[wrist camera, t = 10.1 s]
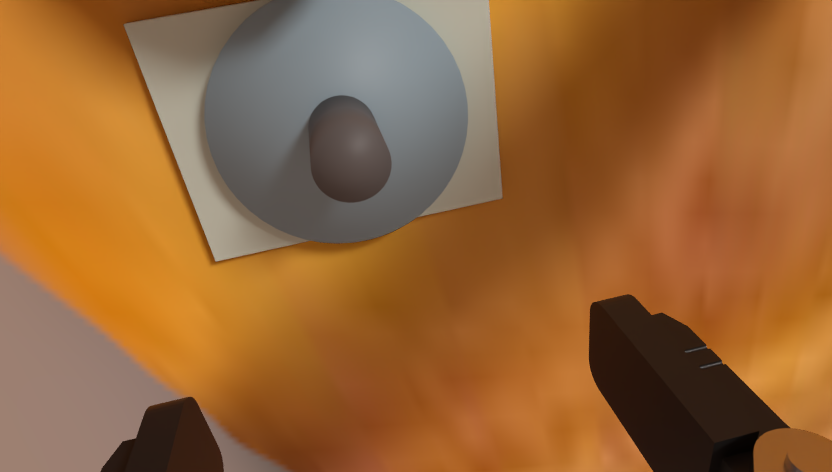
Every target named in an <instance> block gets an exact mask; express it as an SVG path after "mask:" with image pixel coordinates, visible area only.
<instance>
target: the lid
mask: <svg viewBox="0 0 832 472" xmlns="http://www.w3.org/2000/svg"><path fill="white" fill-rule="evenodd" d="M204 122H205V129H206V136H207V141H208V145H209V148H210V152H211V156H212V158H213V160H214V162H215V165H216V167H217V169H218V172H219V173H220V175H221V177H222V178H223V180H224V182H225V183H226V185H227V186H228V188H229V189H230V190H231V191H232V193H233V194H234V195H235V197H236V198H237V199H238V200H239V201H240V202H241V203H242V204H243V205H244V206H245V207H246V208H247V209H248V210H249V211H250V212H252V213H253V214H254V215H256V216H257V217H258V218H260V219H261V220H262V221H264V222H266V223H267V224H269V225H271V226H272V227H274V228H276V229H278V230H280V231H283V232H285V233H287V234H289V235H292V236H296V237H299V238H302V239H305V240H311V241H316V242H323V243H353V242H359V241H365V240H369V239H373V238H377V237H380V236H383V235H385V234H388V233H390V232H393V231H395V230H397V229H399V228H401V227H402V226H404V225H406V224H408V223H409V222H411V221H412V220H414V219H415V218H416V217H418V216H419V215H421V214H422V213H423V212H424V211H425V210H426V209H427V208H428V207H430V206H431V205H432V204H433V203H434V201H435V200H436V199H437V198H438V197H439V196H440V195H441V193H442V192H443V191H444V189H445V188H446V186H447V185H448V183H449V182H450V180H451V178H452V177H453V175H454V173H455V171H456V169H457V167H458V164H459V161H460V159H461V156H462V153H463V150H464V145H465V141H466V137H467V127H468V103H467V97H466V91H465V86H464V83H463V80H462V76H461V73H460V70H459V68H458V66H457V64H456V61H455V59H454V57H453V55H452V54H451V52H450V50H449V49H448V47H447V46H446V44H445V42H444V41H443V40H442V38H441V37H440V36H439V35H438V34H437V32H436V31H435V30H434V29H433V28H432V27H431V26H430V25H429V24H428V23H427V22H426V21H425V20H424V19H423V18H421V17H420V16H419V15H418V14H416V13H415V12H414V11H412V10H411V9H409V8H408V7H406V6H405V5H403V4H401V3H399V2H397V1H395V0H272V1H270V2H268V3H267V4H265V5H263V6H262V7H260V8H259V9H257V10H256V11H255V12H254V13H252V14H251V15H250V16H249V17H248V18H246V19H245V20H244V21H243V23H242V24H241V25H240V26H239V27H238V28H237V29H236V30H235V31H234V32H233V34H232V35H231V36H230V38H229V39H228V41H227V42H226V44H225V45H224V47H223V48H222V50H221V51H220V53H219V56H218V58H217V60H216V62H215V64H214V66H213V68H212V72H211V75H210V78H209V82H208V85H207V91H206V97H205V113H204Z"/></svg>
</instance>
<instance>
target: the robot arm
mask: <svg viewBox="0 0 832 472" xmlns="http://www.w3.org/2000/svg"><path fill="white" fill-rule="evenodd" d="M589 364H590V369H591V372H592V376H593V378H594V381H595V383H596V385H597V387H598V389H599V390H600V392H601V393H602V395H603V396H604V398H605V399H606V401H607V402H608V404H609V405H610V407H611V408H612V410H613V411H614V413H615V414H616V416H617V417H618V419H619V420H620V422H621V423H622V425H623V426H624V428H625V429H626V431H627V432H628V434H629V435H630V437H631V438H632V440H633V441H634V443H635V444H636V446H637V447H638V449H639V451H640V452H641V454H642V455H643V457H644V458H645V460H646V461H647V463H648V464H649V466H650V467H651V469H652V470H653V472H832V441H831V440H829V439H827V438H825V437H823V436H820V435H818V434H815V433H812V432H809V431H805V430H800V429H793V428H790V427H789V426H788V425H786V424H785V423H784V422H783V421H782V420H781V419H780V418H779V417H778V416H777V415H776V414H775V413H774V412H773V411H772V410H771V409H770V408H769V407H768V406H767V405H766V404H765V403H764V402H763V401H762V400H761V399H760V398H759V397H758V396H757V395H756V394H755V393H754V392H753V391H752V390H751V389H750V388H749V387H748V386H747V385H746V384H745V383H744V382H743V381H742V380H741V379H740V378H739V377H738V376H737V375H736V374H735V373H734V372H733V371H732V370H731V369H730V368H729V367H728V366H727V365H726V364H724V365H723V363H722V360H721V359H720V358H719V357H718V356H717V355H716V354H715V353H714V352H713V351H712V350H711V349H707V347H706V344H705V343H704V342H703V341H702V340H701V339H700V338H699V337H698V336H697V335H696V334H695V333H694V332H693V331H692V330H691V329H690V328H689V327H688V326H686V325H684V324H682V323H681V322H679V321H677V320H675V319H673V318H671V317H669V316H667V315H665V314H664V313H659V314H655V315H651V314H650V313H649V312H648V311H647V310H646V309H645V308H644V307H643V306H642V305H641V303H640V302H639V301H638V300H637V299H636V298H635V297H634V296H632V295H629V294H627V295H623V296H618V297H614V298H610V299H606V300H601V301H597V302H594V303H592V305H591V308H590V332H589ZM101 472H224V469H223V462H222V456H221V452H220V449H219V447H218V445H217V443H216V441H215V439H214V436H213V435H212V432H211V431H210V428H209V426H208V424H207V422H206V420H205V418H204V416H203V414H202V412H201V410H200V408H199V406H198V404H197V402H196V401H195V399H194V398H192V397H186V398H182V399H178V400H174V401H170V402H165V403H161V404H157V405H153V406H150V407H148V409H147V410H146V411H145V414H144V417H143V420H142V422H141V426H140V428H139V431H138V434H137V437H136V439H132V440H127V441H123V442H122V443H121V445H120V446H119V447H118V448H117V450H116V451H115V452H114V454H113V455H112V456H111V457H110V459H109V460H108V461H107V463H106V464H105V465H104V466H103V468H102V470H101Z"/></svg>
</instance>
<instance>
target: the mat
mask: <svg viewBox="0 0 832 472" xmlns="http://www.w3.org/2000/svg"><path fill="white" fill-rule="evenodd" d="M270 1H272V0H255V1H250V2H244V3H238V4H233V5H227V6H221V7H215V8H210V9H204V10H198V11H192V12H187V13H181V14H175V15H169V16H164V17H158V18H152V19H146V20H141V21H135V22H129V23H126V24H123V25H124V27H125V30H126V32H127V35H128V38H129V40H130V43H131V45H132V48H133V50H134V53H135V56H136V58H137V61H138V63H139V66H140V68H141V71H142V74H143V76H144V79H145V81H146V84H147V86H148V89H149V91H150V94H151V97H152V99H153V102H154V104H155V107H156V109H157V112H158V115H159V117H160V120H161V122H162V125H163V127H164V130H165V133H166V135H167V138H168V140H169V143H170V145H171V148H172V151H173V153H174V156H175V158H176V161H177V163H178V166H179V169H180V171H181V174H182V176H183V179H184V181H185V184H186V186H187V189H188V192H189V194H190V197H191V199H192V202H193V204H194V207H195V210H196V212H197V215H198V217H199V220H200V222H201V225H202V228H203V230H204V233H205V235H206V238H207V240H208V243H209V246H210V248H211V251H212V253H213V256H214V258H215V261H221V260H225V259H230V258H234V257H239V256H243V255H248V254H252V253H257V252H261V251H266V250H271V249H275V248H280V247H284V246H289V245H293V244H298V243H302V242H307V241H311V240H305V239H302V238H299V237H296V236H292V235H289V234H287V233H285V232H283V231H280V230H278V229H276V228H274V227H272V226H271V225H269V224H267V223H266V222H264V221H262V220H261V219H260V218H258V217H257V216H256V215H254V214H253V213H252V212H250V211H249V210H248V209H247V208H246V207H245V206H244V205H243V204H242V203H241V202H240V201H239V200H238V199H237V198H236V197H235V195H234V194H233V193H232V191H231V190H230V189H229V188H228V186H227V185H226V183H225V182H224V180H223V178H222V177H221V175H220V173H219V172H218V169H217V167H216V165H215V162H214V160H213V158H212V156H211V152H210V148H209V145H208V141H207V136H206V129H205V122H204V113H205V97H206V91H207V85H208V82H209V78H210V75H211V72H212V68H213V66H214V64H215V62H216V60H217V58H218V56H219V53H220V51H221V50H222V48H223V47H224V45H225V44H226V42H227V41H228V39H229V38H230V36H231V35H232V34H233V32H234V31H235V30H236V29H237V28H238V27H239V26H240V25H241V24H242V23H243V21H244V20H245V19H246V18H248V17H249V16H250V15H251V14H252V13H254V12H255V11H256V10H257V9H259V8H260V7H262V6H263V5H265V4H267V3H268V2H270ZM395 1H397V2H399V3H401V4H403V5H405V6H406V7H408V8H409V9H411V10H412V11H414V12H415V13H416V14H418V15H419V16H420V17H421V18H423V19H424V20H425V21H426V22H427V23H428V24H429V25H430V26H431V27H432V28H433V29H434V30H435V31H436V32H437V34H438V35H439V36H440V37H441V38H442V40H443V41H444V42H445V44H446V46H447V47H448V49H449V50H450V52H451V54H452V55H453V57H454V59H455V61H456V64H457V66H458V68H459V70H460V73H461V76H462V80H463V83H464V86H465V91H466V97H467V103H468V127H467V137H466V141H465V145H464V150H463V153H462V156H461V159H460V161H459V164H458V167H457V169H456V171H455V173H454V175H453V177H452V178H451V180H450V182H449V183H448V185H447V186H446V188H445V189H444V191H443V192H442V193H441V195H440V196H439V197H438V198H437V199H436V200H435V201H434V203H433V204H432V205H431V206H430V207H428V208H427V209H426V210H425V211H424V212H423V213H422V214H421V215H419V216H418V217H420V216H425V215H430V214H434V213H439V212H443V211H448V210H452V209H457V208H461V207H466V206H470V205H475V204H479V203H484V202H489V201H493V200H498V199H502V198H503V196H502V182H501V168H500V154H499V140H498V125H497V111H496V97H495V83H494V69H493V54H492V40H491V26H490V12H489V0H395Z"/></svg>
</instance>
